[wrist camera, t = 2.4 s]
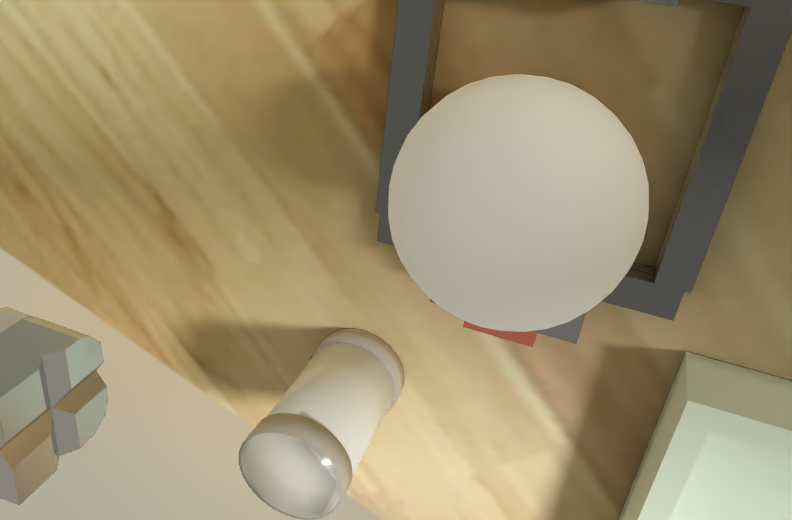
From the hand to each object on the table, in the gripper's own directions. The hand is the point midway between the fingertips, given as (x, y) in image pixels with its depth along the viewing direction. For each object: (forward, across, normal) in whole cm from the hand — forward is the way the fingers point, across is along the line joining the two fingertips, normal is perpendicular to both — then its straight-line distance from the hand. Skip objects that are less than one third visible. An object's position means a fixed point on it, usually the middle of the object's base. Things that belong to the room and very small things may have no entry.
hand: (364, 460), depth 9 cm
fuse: (+17, +6, +13) cm, 22 cm away
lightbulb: (+17, 0, 0) cm, 17 cm away
